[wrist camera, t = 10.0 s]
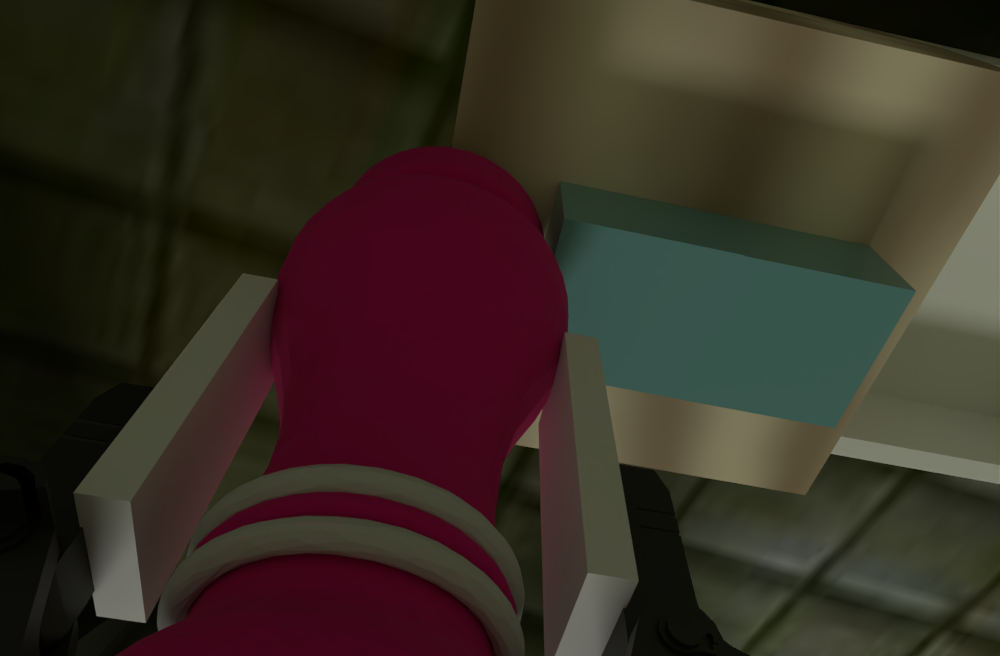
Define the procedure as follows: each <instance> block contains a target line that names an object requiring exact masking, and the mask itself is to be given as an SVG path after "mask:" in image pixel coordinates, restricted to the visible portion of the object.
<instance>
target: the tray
mask: <svg viewBox="0 0 1000 656" xmlns="http://www.w3.org/2000/svg"><path fill="white" fill-rule="evenodd" d="M916 40H918V39H916ZM919 41H922V40H919ZM922 42H925V43H929V44H932V45H935V46H938V47H941V48H944V49H947V50H950V51H953V52H956V53H959V54H962V55H965V56H968V57H971V58H974V59H978V60H981V61H984V62H987V63H990V64H993V65H996V66H999V67H1000V59H999V58H995V57H991V56H987V55H982V54H978V53H974V52H969V51H965V50H961V49H956V48H952V47H948V46H943V45H939V44H935V43H931V42H926V41H922ZM830 454H836V455H841V456H847V457H852V458H858V459H863V460H869V461H875V462H880V463H886V464H891V465H897V466H902V467H908V468H914V469H919V470H925V471H930V472H936V473H941V474H947V475H952V476H958V477H964V478H969V479H975V480H980V481H986V482H991V483H997V484H1000V175H999V176H998V178H997V180H996V181H995V183H994V185H993V186H992V188H991V190H990V191H989V193H988V195H987V196H986V198H985V199H984V201H983V203H982V204H981V206H980V208H979V209H978V211H977V213H976V214H975V216H974V218H973V219H972V221H971V223H970V224H969V226H968V228H967V229H966V231H965V232H964V234H963V236H962V237H961V239H960V241H959V242H958V244H957V246H956V247H955V249H954V251H953V252H952V254H951V256H950V257H949V259H948V260H947V262H946V264H945V265H944V267H943V269H942V270H941V272H940V274H939V275H938V277H937V279H936V280H935V282H934V284H933V285H932V287H931V289H930V290H929V292H928V293H927V295H926V297H925V298H924V300H923V302H922V303H921V305H920V307H919V308H918V310H917V312H916V313H915V315H914V317H913V318H912V320H911V322H910V323H909V325H908V326H907V328H906V330H905V331H904V333H903V335H902V336H901V338H900V340H899V341H898V343H897V345H896V346H895V348H894V350H893V351H892V353H891V354H890V356H889V358H888V359H887V361H886V363H885V364H884V366H883V368H882V369H881V371H880V373H879V374H878V376H877V378H876V379H875V381H874V383H873V384H872V386H871V387H870V389H869V391H868V392H867V394H866V396H865V397H864V399H863V401H862V402H861V404H860V406H859V407H858V409H857V411H856V412H855V414H854V416H853V417H852V419H851V420H850V422H849V424H848V425H847V427H846V429H845V430H844V432H843V434H842V435H841V437H840V439H839V440H838V442H837V444H836V445H835V447H834V449H833V450H832V452H831V453H830Z"/></svg>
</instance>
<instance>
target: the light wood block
mask: <svg viewBox="0 0 1000 656" xmlns="http://www.w3.org/2000/svg"><path fill="white" fill-rule="evenodd" d="M452 148H455V149H460V150H465V151H469V152H472V153H474V154H477V155H479V156H482V157H485V158H487V159H488V160H490V161H492V162H494V163H495V164H497V165H498V166H500V167H501V168H503V169H504V170H505V171H507V172H508V173H509V174H510V175H511V176H512V177H513V178H514V179H515V180H516V181H517V182H519V183H520V185H521V186H522V187H523V189H524V190H525V191H526V192H527V194H528V195H529V197H530V198H531V200H532V202H533V204H534V206H535V208H536V211H537V213H538V215H539V218H540V221H541V224H542V228H543V234H544V239H545V237H546V233H547V229H548V225H549V221H550V218H551V214H552V210H553V206H554V202H555V198H556V194H557V190H558V186H559V183H560V181H564V182H568V183H573V184H578V185H583V186H588V187H593V188H597V189H602V190H607V191H612V192H617V193H621V194H626V195H631V196H636V197H640V198H645V199H650V200H655V201H660V202H664V203H669V204H674V205H679V206H684V207H688V208H693V209H698V210H703V211H708V212H712V213H717V214H719V215H724V216H728V217H733V218H738V219H743V220H747V221H752V222H757V223H762V224H767V225H771V226H776V227H781V228H786V229H791V230H795V231H800V232H805V233H810V234H815V235H819V236H824V237H829V238H834V239H839V240H843V241H848V242H853V243H858V244H863V245H867V246H870V247H871V248H872V249H873V250H874V251H875V252H876V253H877V254H878V255H879V256H881V257H882V258H883V259H884V260H885V261H886V262H887V263H888V264H889V265H890V266H891V267H892V268H893V269H894V270H895V271H896V272H897V273H898V274H899V275H900V276H901V277H902V278H903V279H904V280H905V281H906V282H907V283H908V284H909V285H910V286H912V287H913V288H914V289H915V290H916V293H915V294H914V296H913V298H912V299H911V301H910V303H909V304H908V306H907V308H906V309H905V311H904V313H903V314H902V316H901V318H900V319H899V321H898V323H897V325H896V326H895V328H894V330H893V331H892V333H891V335H890V336H889V338H888V340H887V341H886V343H885V345H884V346H883V348H882V350H881V351H880V353H879V355H878V356H877V358H876V360H875V361H874V363H873V365H872V367H871V368H870V370H869V372H868V373H867V375H866V377H865V378H864V380H863V382H862V383H861V385H860V387H859V388H858V390H857V392H856V393H855V395H854V397H853V398H852V400H851V402H850V403H849V405H848V407H847V409H846V410H845V412H844V414H843V415H842V417H841V419H840V420H839V422H838V424H837V425H836V427H835V428H830V427H825V426H819V425H814V424H809V423H803V422H798V421H792V420H787V419H782V418H776V417H771V416H766V415H760V414H755V413H749V412H744V411H739V410H733V409H728V408H723V407H717V406H712V405H707V404H701V403H696V402H690V401H685V400H681V399H676V398H671V397H665V396H660V395H655V394H649V393H644V392H639V391H633V390H628V389H623V388H617V387H612V386H607V385H606V391H607V397H608V403H609V409H610V414H611V420H612V426H613V432H614V438H615V444H616V450H617V456H618V461H619V463H624V464H629V465H635V466H641V467H647V468H652V469H658V470H664V471H670V472H675V473H681V474H687V475H693V476H698V477H704V478H710V479H715V480H721V481H727V482H733V483H738V484H744V485H750V486H756V487H761V488H767V489H773V490H779V491H784V492H790V493H796V494H802V495H806V493H807V491H808V490H809V488H810V486H811V485H812V483H813V481H814V480H815V478H816V477H817V475H818V473H819V472H820V470H821V468H822V467H823V465H824V463H825V462H826V460H827V458H828V457H829V455H830V453H831V452H832V450H833V449H834V447H835V445H836V444H837V442H838V440H839V439H840V437H841V435H842V434H843V432H844V430H845V429H846V427H847V425H848V424H849V422H850V420H851V419H852V417H853V416H854V414H855V412H856V411H857V409H858V407H859V406H860V404H861V402H862V401H863V399H864V397H865V396H866V394H867V392H868V391H869V389H870V387H871V386H872V384H873V383H874V381H875V379H876V378H877V376H878V374H879V373H880V371H881V369H882V368H883V366H884V364H885V363H886V361H887V359H888V358H889V356H890V354H891V353H892V351H893V350H894V348H895V346H896V345H897V343H898V341H899V340H900V338H901V336H902V335H903V333H904V331H905V330H906V328H907V326H908V325H909V323H910V322H911V320H912V318H913V317H914V315H915V313H916V312H917V310H918V308H919V307H920V305H921V303H922V302H923V300H924V298H925V297H926V295H927V293H928V292H929V290H930V289H931V287H932V285H933V284H934V282H935V280H936V279H937V277H938V275H939V274H940V272H941V270H942V269H943V267H944V265H945V264H946V262H947V260H948V259H949V257H950V256H951V254H952V252H953V251H954V249H955V247H956V246H957V244H958V242H959V241H960V239H961V237H962V236H963V234H964V232H965V231H966V229H967V228H968V226H969V224H970V223H971V221H972V219H973V218H974V216H975V214H976V213H977V211H978V209H979V208H980V206H981V204H982V203H983V201H984V199H985V198H986V196H987V195H988V193H989V191H990V190H991V188H992V186H993V185H994V183H995V181H996V180H997V178H998V176H999V175H1000V67H999V66H996V65H993V64H990V63H987V62H984V61H981V60H978V59H974V58H971V57H968V56H965V55H962V54H959V53H956V52H953V51H950V50H947V49H944V48H941V47H938V46H935V45H932V44H929V43H925V42H922V41H919V40H916V39H913V38H909V37H905V36H900V35H896V34H892V33H888V32H883V31H879V30H875V29H870V28H866V27H862V26H857V25H853V24H849V23H845V22H840V21H836V20H832V19H827V18H823V17H819V16H814V15H810V14H806V13H802V12H797V11H793V10H789V9H784V8H780V7H776V6H771V5H767V4H763V3H758V2H754V1H750V0H476V3H475V9H474V15H473V21H472V27H471V33H470V39H469V45H468V51H467V57H466V64H465V70H464V76H463V82H462V88H461V94H460V100H459V106H458V112H457V118H456V124H455V130H454V136H453V142H452ZM542 410H543V409H542ZM542 410H541V412H540V414H539V415H538V417H537V418H536V420H535V421H534V422H533V424H532V425H531V426H530V427H529V428H528V430H527V431H526V432H525V433H524V434H523V436H522V437H521V438H520V439H519V440H518V442H517V443H516V444H515V445H520V446H526V447H532V448H538V449H539V427H538V424H539V420H540V417H541V413H542Z"/></svg>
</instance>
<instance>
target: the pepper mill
mask: <svg viewBox="0 0 1000 656" xmlns="http://www.w3.org/2000/svg"><path fill="white" fill-rule="evenodd" d="M277 280H278V295H277V299H276V303H275V307H274V312H273V319H272V329H271V340H270V354H271V364H272V369H273V375H274V380H275V386H276V391H277V397H278V406H279V416H280V431H279V438H278V441H277V444H276V447H275V450H274V452H273V455H272V458H271V461H270V464H269V466H268V468H267V470H266V471H265V473H264V474H263V476H261V477H259V478H257V479H255V480H252V481H250V482H248V483H246V484H243V485H241V486H239V487H237V488H236V489H234V490H233V491H231V492H230V493H228V494H227V495H225V496H224V497H223V498H222V499H221V500H220V501H219V502H217V503H216V504H215V505H214V506H213V507H212V508H211V509H210V510H209V511H208V512H207V513H206V514H205V515H204V517H203V518H202V520H201V521H200V523H199V525H198V526H197V528H196V529H195V531H194V533H193V536H192V539H191V542H190V545H189V549H188V553H187V557H186V559H185V560H184V561H183V562H182V563H181V564H180V565H179V566H178V567H177V568H176V570H175V572H174V573H173V575H172V576H171V578H170V580H169V581H168V583H167V584H166V586H165V588H164V590H163V592H162V594H161V598H160V602H159V605H158V613H157V627H158V631H157V632H155V633H153V634H151V635H149V636H147V637H145V638H142V639H140V640H138V641H137V642H135V643H134V644H132V645H131V646H129V647H128V648H126V649H125V650H123V651H122V652H120V653H119V654H117V655H116V656H525V642H524V636H523V632H522V628H521V625H520V620H521V617H522V613H523V607H524V602H525V590H524V584H523V579H522V574H521V569H520V566H519V563H518V561H517V559H516V557H515V554H514V552H513V550H512V548H511V547H510V545H509V544H508V543H507V541H506V540H505V538H504V537H503V536H502V535H501V534H500V533H499V532H498V531H497V530H496V523H495V513H496V506H497V499H498V492H499V485H500V478H501V471H502V466H503V463H504V460H505V458H506V457H507V455H508V454H509V452H510V451H511V449H512V448H513V447H514V445H515V444H516V443H517V442H518V440H519V439H520V438H521V437H522V436H523V434H524V433H525V432H526V431H527V430H528V428H529V427H530V426H531V425H532V424H533V422H534V421H535V420H536V418H537V417H538V415H539V414H540V412H541V410H542V409H543V407H544V406H545V404H546V403H547V400H548V398H549V395H550V392H551V389H552V386H553V383H554V379H555V375H556V371H557V367H558V362H559V355H560V348H561V344H562V341H563V337H564V334H565V332H567V333H568V318H569V313H568V295H567V291H566V287H565V282H564V278H563V275H562V273H561V270H560V268H559V265H558V263H557V261H556V258H555V256H554V254H553V251H552V250H551V248H550V247H549V245H548V244H547V242H546V241H545V239H544V234H543V228H542V224H541V221H540V218H539V215H538V213H537V211H536V208H535V206H534V204H533V202H532V200H531V198H530V197H529V195H528V194H527V192H526V191H525V190H524V189H523V187H522V186H521V185H520V183H519V182H517V181H516V180H515V179H514V178H513V177H512V176H511V175H510V174H509V173H508V172H507V171H505V170H504V169H503V168H501V167H500V166H498V165H497V164H495V163H494V162H492V161H490V160H488V159H487V158H485V157H482V156H479V155H477V154H474V153H472V152H469V151H465V150H460V149H455V148H450V147H420V148H413V149H409V150H406V151H402V152H399V153H397V154H395V155H392V156H390V157H388V158H385V159H384V160H382V161H380V162H379V163H377V164H376V165H374V166H373V167H371V168H370V169H369V170H368V171H367V172H366V173H365V174H363V176H362V177H361V178H360V179H359V180H358V181H357V182H356V184H355V185H354V186H353V188H352V189H349V190H347V191H346V192H344V193H343V194H341V195H339V196H338V197H336V198H335V199H333V200H332V201H330V202H329V203H327V204H326V205H325V206H324V207H323V208H322V209H320V210H319V211H318V212H317V213H316V214H315V215H314V216H313V217H312V218H311V219H310V220H309V221H308V222H307V223H306V225H305V226H304V227H303V229H302V230H301V232H300V233H299V234H298V236H297V237H296V238H295V241H294V243H293V245H292V247H291V249H290V251H289V253H288V256H287V258H286V260H285V262H284V264H283V266H282V268H281V271H280V273H279V275H278V279H277Z"/></svg>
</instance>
